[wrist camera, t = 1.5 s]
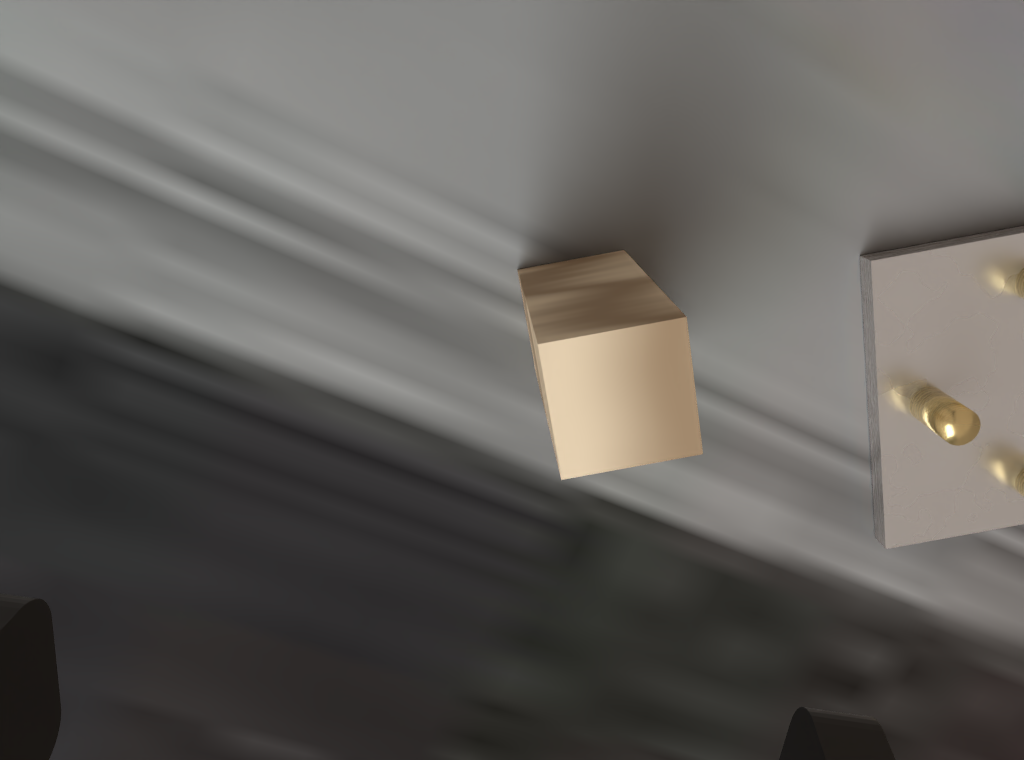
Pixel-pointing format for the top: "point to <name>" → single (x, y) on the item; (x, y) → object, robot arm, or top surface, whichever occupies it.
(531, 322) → the block
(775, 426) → the top surface
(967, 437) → the plate
